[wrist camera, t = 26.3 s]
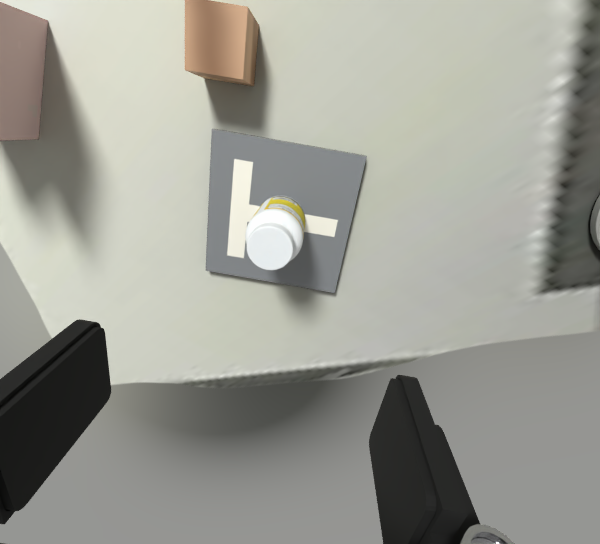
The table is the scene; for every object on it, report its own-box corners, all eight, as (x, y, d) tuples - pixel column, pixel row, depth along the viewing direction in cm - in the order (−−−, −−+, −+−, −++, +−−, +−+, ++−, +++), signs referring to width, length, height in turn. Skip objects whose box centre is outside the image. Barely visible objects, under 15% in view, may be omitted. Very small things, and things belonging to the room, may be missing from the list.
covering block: (259, 25, 30) (247, 6, 25) (254, 86, 32) (242, 79, 28) (205, 16, 30) (184, -4, 25) (204, 78, 32) (184, 69, 27)
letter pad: (365, 155, 34) (366, 156, 33) (334, 289, 40) (334, 293, 40) (214, 128, 34) (211, 128, 33) (208, 267, 40) (205, 270, 39)
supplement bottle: (272, 249, 38) (257, 287, 29) (249, 208, 36) (224, 234, 27) (314, 229, 36) (311, 262, 28) (292, 185, 35) (281, 205, 26)
